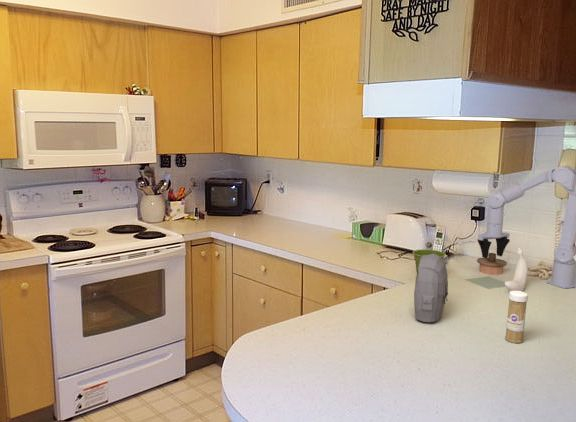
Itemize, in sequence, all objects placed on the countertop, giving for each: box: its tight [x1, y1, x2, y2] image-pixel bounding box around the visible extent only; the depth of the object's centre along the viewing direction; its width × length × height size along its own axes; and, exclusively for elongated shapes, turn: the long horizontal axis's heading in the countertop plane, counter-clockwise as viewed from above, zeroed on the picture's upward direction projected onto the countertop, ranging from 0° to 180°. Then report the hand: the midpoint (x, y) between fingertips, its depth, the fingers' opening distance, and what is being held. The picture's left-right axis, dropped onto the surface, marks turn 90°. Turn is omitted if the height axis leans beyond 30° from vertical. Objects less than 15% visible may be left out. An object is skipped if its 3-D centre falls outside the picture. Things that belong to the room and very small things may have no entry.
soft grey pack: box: [413, 254, 449, 323], centre depth 152 cm, size 15×8×20 cm, turn 152°
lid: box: [476, 252, 508, 267], centre depth 204 cm, size 11×11×4 cm
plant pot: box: [412, 248, 447, 273], centre depth 190 cm, size 12×12×11 cm
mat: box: [464, 276, 506, 290], centre depth 191 cm, size 12×12×1 cm
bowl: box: [479, 264, 504, 276], centre depth 205 cm, size 8×8×4 cm
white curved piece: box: [504, 247, 529, 292], centre depth 180 cm, size 5×19×15 cm, turn 146°
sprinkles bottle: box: [504, 291, 529, 344], centre depth 138 cm, size 5×5×14 cm
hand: (492, 256), depth 204 cm, fingers open, 7 cm apart
